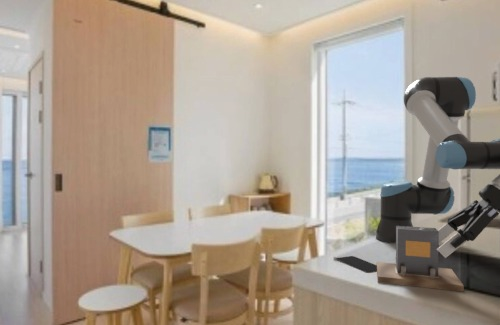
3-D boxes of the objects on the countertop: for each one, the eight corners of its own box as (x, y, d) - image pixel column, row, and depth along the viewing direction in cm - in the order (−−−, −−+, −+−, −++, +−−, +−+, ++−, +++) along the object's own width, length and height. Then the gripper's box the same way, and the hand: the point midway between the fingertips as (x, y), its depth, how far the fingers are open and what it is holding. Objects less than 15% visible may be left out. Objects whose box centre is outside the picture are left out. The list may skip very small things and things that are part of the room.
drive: (434, 271, 98) (435, 228, 98) (438, 277, 94) (438, 231, 93) (395, 267, 101) (396, 225, 101) (397, 273, 97) (397, 229, 96)
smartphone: (367, 272, 101) (334, 258, 115) (367, 274, 101) (334, 260, 115) (386, 269, 104) (352, 255, 118) (386, 271, 104) (352, 257, 118)
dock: (451, 274, 101) (451, 260, 101) (463, 291, 88) (463, 275, 88) (376, 266, 107) (376, 253, 107) (377, 282, 94) (377, 267, 94)
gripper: (536, 211, 78) (457, 272, 83) (498, 199, 101) (439, 247, 106) (508, 186, 79) (432, 247, 84) (477, 180, 103) (419, 228, 108)
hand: (436, 247), depth 95 cm, fingers open, 13 cm apart
